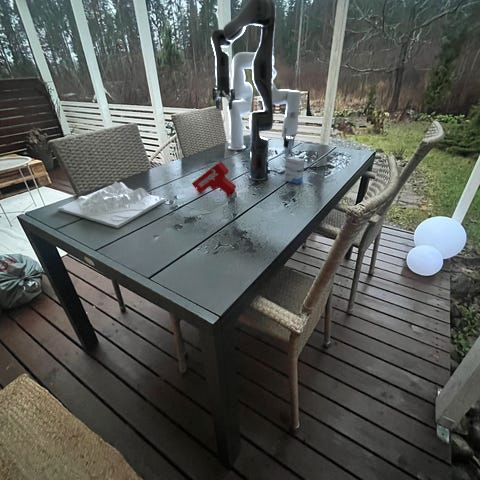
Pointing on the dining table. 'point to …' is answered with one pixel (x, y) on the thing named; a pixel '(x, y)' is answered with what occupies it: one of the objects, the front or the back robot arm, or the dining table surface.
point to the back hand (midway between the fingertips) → (288, 146)
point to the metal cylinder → (289, 146)
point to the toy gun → (215, 180)
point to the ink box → (294, 170)
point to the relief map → (113, 205)
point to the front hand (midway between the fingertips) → (224, 109)
